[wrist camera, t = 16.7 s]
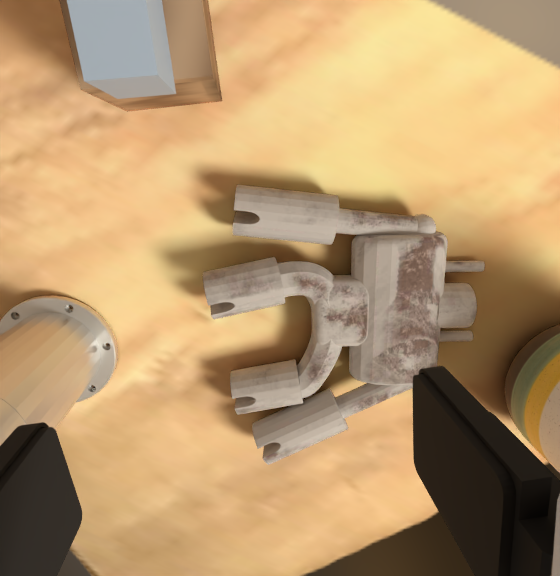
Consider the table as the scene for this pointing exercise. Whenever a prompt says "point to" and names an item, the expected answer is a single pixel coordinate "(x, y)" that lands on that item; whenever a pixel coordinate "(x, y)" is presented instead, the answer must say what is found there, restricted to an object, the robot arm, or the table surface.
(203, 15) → the open wooden box
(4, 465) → the robot arm
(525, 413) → the vase
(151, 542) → the table surface
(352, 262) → the white branched piece
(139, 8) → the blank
